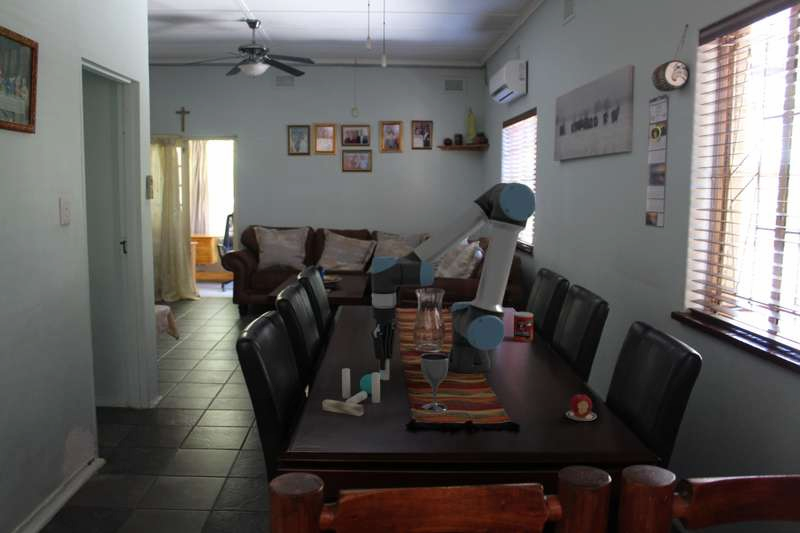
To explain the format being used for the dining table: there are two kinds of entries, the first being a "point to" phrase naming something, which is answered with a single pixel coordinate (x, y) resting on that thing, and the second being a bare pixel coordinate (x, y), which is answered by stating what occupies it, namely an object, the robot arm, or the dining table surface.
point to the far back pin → (346, 383)
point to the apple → (581, 408)
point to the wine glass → (434, 376)
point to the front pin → (357, 398)
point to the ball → (366, 383)
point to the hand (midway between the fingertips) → (384, 379)
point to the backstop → (343, 407)
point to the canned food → (523, 326)
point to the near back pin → (375, 387)
